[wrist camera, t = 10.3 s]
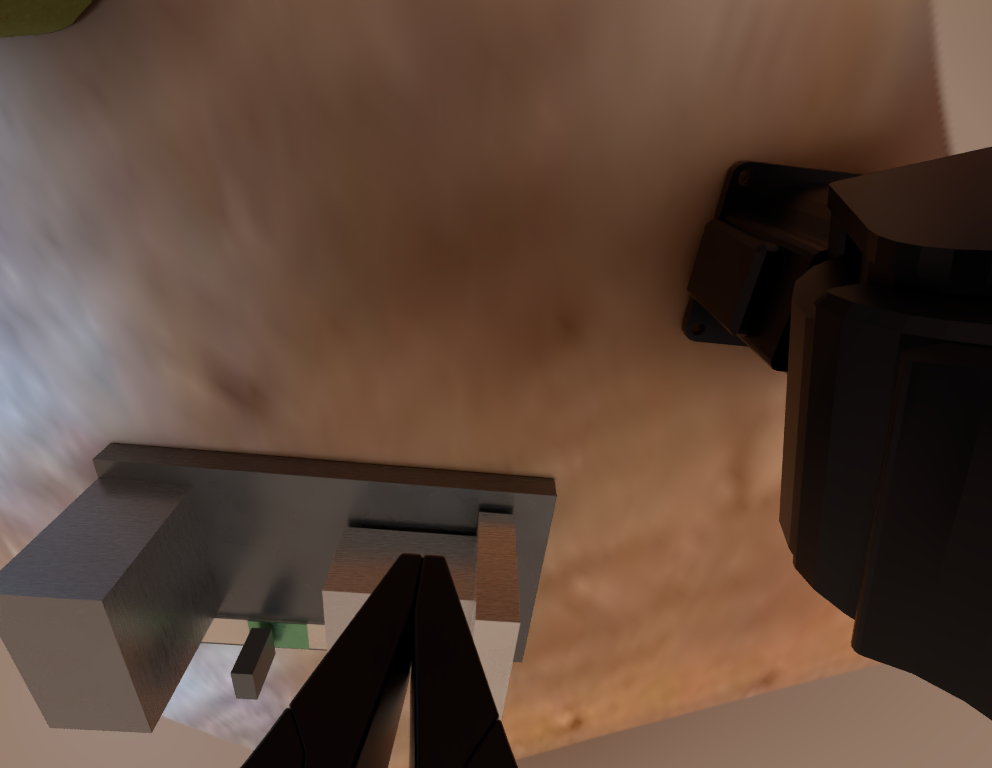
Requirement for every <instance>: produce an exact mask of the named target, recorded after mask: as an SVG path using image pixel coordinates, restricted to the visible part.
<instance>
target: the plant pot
mask: <svg viewBox="0 0 992 768" xmlns="http://www.w3.org/2000/svg"><path fill="white" fill-rule="evenodd" d="M92 1H93V0H0V37H12V36H25V35H38V34H47V33H51V32H55V31H58V30H61V29H63V28H65V27H67V26H69V25H71V24H72V23H73V22H74V21H75V19H76V18H77V17H78V16H79V15H80V14H81V13H82V12H83V11H84V10H85V9H86V7H87V6H88V5H89V4H90V3H91V2H92Z"/></svg>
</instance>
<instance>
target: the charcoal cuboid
mask: <svg viewBox="0 0 992 768" xmlns="http://www.w3.org/2000/svg"><path fill="white" fill-rule="evenodd" d="M275 654H276V653H275V647H274V640H273V634H272V629H266V628H251V630H250V632H249V635H248V637H247V639H246V641H245V643H244V645H243V648H242V650H241V652H240V654H239V656H238V658H237V661H236V663H235V665H234V667H233V669H232V671H231V677H232V682H233V686H234V691H235V695H236V698H238V699H256V700H257V699H258V696H259V694H260V691H261V689H262V686H263V684H264V681H265V679H266V676H267V674H268V671H269V669H270V666H271V664H272V661H273V659H274V656H275Z"/></svg>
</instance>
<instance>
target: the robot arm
mask: <svg viewBox="0 0 992 768" xmlns="http://www.w3.org/2000/svg"><path fill="white" fill-rule="evenodd" d="M744 170H747V171H748V173H749V176H748V179H747V181H746V182H744V183H743V184H740V183H739V181H738V179H739V175H740V174H741V172H743V171H744ZM687 290H688V292H689V293H690V295H691V297H690V300H689V304H688V307H687V310H686V314H685V317H684V320H683V324H682V330H683V333H684V334H685V335H686V336H687V337H688V338H689V339H690V340H692V341H697V342H708V343H718V344H728V345H738V346H749V347H750V348H751V349H752V350H753V351H754V352H755V353H756V354H757V355H758V356H759V357H761V358H762V359H763V360H764V361H765V362H766V363H767V364H768V365H769V366H770V367H771V368H772V369H774V370H776V371H783V372H785V373H786V374H787V392H786V410H785V427H784V445H783V463H782V480H781V498H780V516H779V522H780V524H781V527H782V530H783V533H784V536H785V539H786V541H787V544H788V547H789V549H790V551H791V552H792V554H793V564H794V567H795V569H796V570H797V571H798V572H799V573H800V574H801V575H802V576H803V578H804V579H805V580H806V581H807V582H808V583H809V584H810V586H811V587H812V588H813V589H814V590H815V591H816V592H818V593H819V594H820V595H822V596H823V597H824V598H825V599H827V600H828V601H829V602H831V603H832V604H833V605H834V606H836V607H837V608H838V609H840V610H841V611H842V612H843V613H845V614H846V615H848V616H849V617H851V618H853V619H854V620H855V623H854V629H853V635H852V640H851V646H852V648H853V649H854V651H855V652H857V653H858V654H860V655H862V656H864V657H867V658H870V659H873V660H876V661H878V662H881V663H884V664H887V665H890V666H893V667H895V668H898V669H901V670H904V671H907V672H909V673H912V674H914V675H916V676H918V677H920V678H922V679H924V680H926V681H928V682H929V683H931V684H933V685H935V686H937V687H939V688H940V689H942V690H945V691H946V692H948V693H950V694H952V695H954V696H955V697H958V698H959V699H961V700H963V701H965V702H966V703H968V704H969V705H970V706H972V707H973V708H975V709H976V710H978V711H979V712H980V713H982V714H983V715H985V716H986V717H988V718H989V719H991V720H992V147H989V148H984V149H979V150H975V151H970V152H966V153H962V154H957V155H952V156H947V157H943V158H938V159H934V160H929V161H925V162H920V163H916V164H911V165H907V166H902V167H898V168H893V169H889V170H884V171H880V172H875V173H871V174H866V175H864V174H855V173H847V172H838V171H830V170H821V169H813V168H805V167H796V166H788V165H779V164H771V163H762V162H754V161H739V162H737V163H735V164H734V165H733V166H732V167H731V168H730V169H729V171H728V174H727V176H726V180H725V183H724V186H723V190H722V193H721V196H720V200H719V203H718V206H717V210H716V213H715V216H714V219H712V220H711V221H710V222H708V223H707V224H706V226H705V230H704V233H703V236H702V240H701V243H700V247H699V250H698V254H697V257H696V260H695V264H694V267H693V271H692V274H691V277H690V281H689V284H688V288H687ZM698 323H701V327H700V329H699V330H697V331H694V332H693V331H692V328H693V326H694V325H695V324H698ZM410 671H411V684H410V755H409V768H518V766H517V764H516V761H515V758H514V755H513V753H512V750H511V747H510V745H509V742H508V739H507V736H506V733H505V730H504V727H503V725H502V722H501V720H499V714H498V711H497V708H496V705H495V702H494V699H493V696H492V693H491V690H490V687H489V684H488V681H487V678H486V675H485V672H484V670H483V667H482V664H481V661H480V658H479V655H478V652H477V649H476V646H475V643H474V640H473V637H472V634H471V631H470V628H469V626H468V623H467V620H466V617H465V614H464V611H463V608H462V605H461V602H460V599H459V596H458V593H457V590H456V587H455V584H454V582H453V579H452V576H451V573H450V570H449V567H448V564H447V561H446V559H445V557H444V556H441V555H425V556H424V557H422V555H421V554H413V553H402V554H401V555H400V556H399V557H398V558H397V559H396V561H395V562H394V563H393V565H392V566H391V568H390V569H389V570H388V572H387V573H386V574H385V576H384V577H383V578H382V580H381V581H380V582H379V584H378V585H377V586H376V588H375V589H374V591H373V592H372V593H371V595H370V596H369V597H368V599H367V600H366V601H365V603H364V604H363V605H362V607H361V608H360V609H359V611H358V612H357V613H356V615H355V616H354V618H353V619H352V620H351V622H350V623H349V624H348V626H347V627H346V628H345V630H344V631H343V632H342V634H341V635H340V636H339V638H338V639H337V641H336V642H335V643H334V645H333V646H332V647H331V649H330V650H329V651H328V653H327V654H326V655H325V657H324V658H323V659H322V661H321V662H320V664H319V665H318V666H317V668H316V669H315V670H314V672H313V673H312V674H311V676H310V677H309V678H308V680H307V681H306V682H305V684H304V685H303V686H302V688H301V689H300V691H299V692H298V693H297V695H296V696H295V697H294V699H293V700H292V701H291V703H290V705H289V707H290V708H286V709H285V710H284V712H283V713H282V715H281V716H280V717H279V719H278V720H277V721H276V723H275V724H274V725H273V727H272V728H271V729H270V731H269V732H268V733H267V735H266V736H265V737H264V738H263V740H262V741H261V742H260V744H259V745H258V746H257V747H256V749H255V750H254V751H253V752H252V754H251V755H250V756H249V758H248V759H247V760H246V762H245V763H244V764H243V765H242V766H241V767H240V768H388V765H389V761H390V757H391V752H392V748H393V744H394V740H395V736H396V732H397V728H398V724H399V720H400V716H401V711H402V707H403V703H404V699H405V695H406V691H407V686H408V682H409V677H410Z"/></svg>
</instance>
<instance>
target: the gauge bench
mask: <svg viewBox="0 0 992 768" xmlns="http://www.w3.org/2000/svg"><path fill="white" fill-rule="evenodd" d="M93 462H94V465H95V468H96V472H97V475H98V479H97V480H96V481H95V482H94V483H93V484H92V485H91V486H90V487H88V488H87V489H86V490H85V491H84V492H83V493H82V494H81V495H80V496H79V497H78V498H77V499H76V500H75V501H74V502H73V503H71V504H70V505H69V506H68V507H67V508H66V509H65V510H64V511H63V512H62V513H61V514H60V515H59V516H58V517H57V518H56V519H55V520H53V521H52V522H51V523H50V524H49V525H48V526H47V527H46V528H45V529H44V530H43V531H42V532H41V533H40V534H39V535H38V536H36V537H35V538H34V539H33V540H32V541H31V542H30V543H29V544H28V545H27V546H26V547H25V548H24V549H23V550H22V551H21V552H19V553H18V554H17V555H16V556H15V557H14V558H13V559H12V560H11V561H10V562H9V563H8V564H7V565H6V566H5V567H4V568H2V569H1V570H0V637H1V639H2V641H3V643H4V644H5V646H6V648H7V650H8V652H9V653H10V655H11V657H12V659H13V661H14V663H15V665H16V666H17V668H18V670H19V672H20V673H21V676H22V677H23V679H24V681H25V683H26V685H27V687H28V689H29V690H30V692H31V694H32V696H33V698H34V700H35V701H36V703H37V705H38V707H39V709H40V710H41V712H42V714H43V716H44V718H45V720H46V722H47V724H48V725H49V727H50V728H63V729H84V730H103V731H122V732H142V733H152V731H153V729H154V728H155V726H156V724H157V722H158V720H159V719H160V717H161V715H162V713H163V711H164V709H165V708H166V706H167V704H168V702H169V700H170V698H171V697H172V695H173V693H174V691H175V689H176V687H177V686H178V684H179V682H180V680H181V678H182V676H183V675H184V673H185V671H186V669H187V667H188V665H189V664H190V662H191V660H192V658H193V656H194V654H195V652H196V651H197V649H198V647H199V645H200V643H210V644H227V645H244V643H245V641H246V639H247V637H248V635H249V632H250V630H251V628H266V629H272V634H273V640H274V647H276V648H293V649H309V650H326V651H327V646H326V633H325V621H324V608H323V595H322V590H323V587H324V584H325V581H326V578H327V575H328V573H329V570H330V567H331V564H332V561H333V558H334V556H335V553H336V550H337V547H338V544H339V541H340V538H341V536H342V533H343V530H344V527H354V528H367V529H381V530H394V531H408V532H421V533H435V534H448V535H462V536H475V537H476V533H477V524H478V516H479V512H487V513H500V514H513V515H515V534H516V552H517V570H518V589H519V607H520V627H519V632H518V637H517V643H516V648H515V653H514V658H513V662H522V660H523V655H524V650H525V646H526V641H527V636H528V631H529V627H530V622H531V617H532V612H533V607H534V603H535V598H536V593H537V588H538V584H539V579H540V574H541V569H542V565H543V560H544V555H545V550H546V545H547V541H548V536H549V531H550V526H551V522H552V517H553V512H554V507H555V502H556V498H557V494H556V488H555V482H554V479H548V478H536V477H523V476H511V475H498V474H486V473H474V472H461V471H449V470H437V469H424V468H412V467H400V466H387V465H375V464H362V463H350V462H338V461H325V460H313V459H301V458H288V457H276V456H264V455H251V454H239V453H227V452H214V451H202V450H189V449H177V448H165V447H152V446H140V445H128V444H115V443H111V444H109V445H108V446H107V447H106V448H105V449H104V450H103V451H101V452H100V453H99V454H98V455H97V456H96V457H95V458H94V459H93Z"/></svg>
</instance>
